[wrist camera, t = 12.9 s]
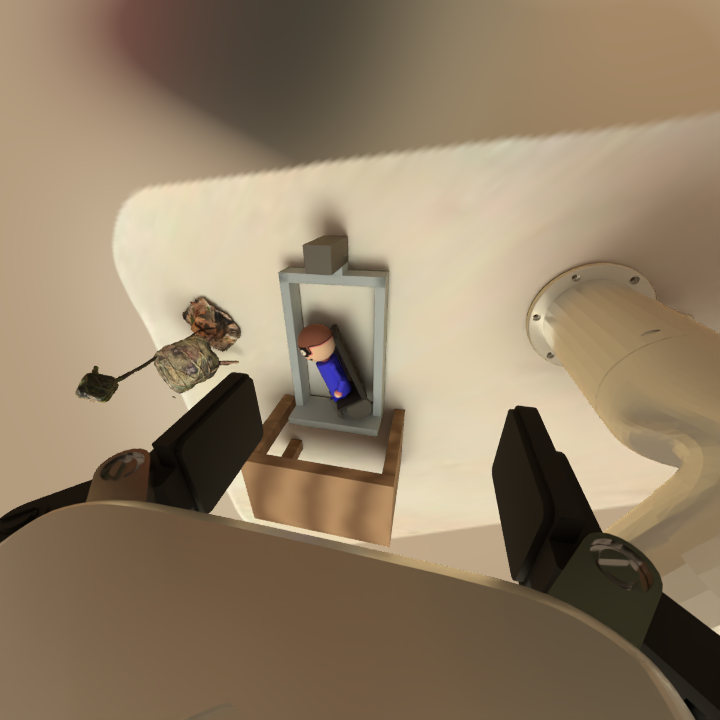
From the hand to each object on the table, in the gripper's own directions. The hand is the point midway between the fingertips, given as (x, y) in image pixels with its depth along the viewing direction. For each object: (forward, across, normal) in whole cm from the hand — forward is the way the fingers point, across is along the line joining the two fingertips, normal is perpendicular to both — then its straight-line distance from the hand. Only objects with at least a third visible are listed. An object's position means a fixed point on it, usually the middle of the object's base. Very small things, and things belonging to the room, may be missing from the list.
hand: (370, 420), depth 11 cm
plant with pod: (+31, +30, +12) cm, 44 cm away
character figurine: (+31, +10, +15) cm, 35 cm away
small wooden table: (+30, +10, +29) cm, 43 cm away
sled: (+30, +10, +11) cm, 33 cm away
